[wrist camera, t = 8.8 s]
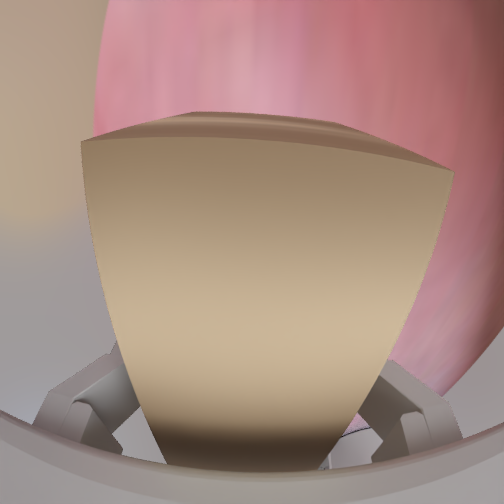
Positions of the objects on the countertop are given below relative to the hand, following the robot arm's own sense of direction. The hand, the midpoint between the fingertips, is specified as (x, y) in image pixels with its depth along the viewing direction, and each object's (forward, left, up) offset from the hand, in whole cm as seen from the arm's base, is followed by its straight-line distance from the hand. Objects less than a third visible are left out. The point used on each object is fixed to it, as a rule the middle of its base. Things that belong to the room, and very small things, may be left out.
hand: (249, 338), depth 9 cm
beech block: (0, 0, -2) cm, 2 cm away
